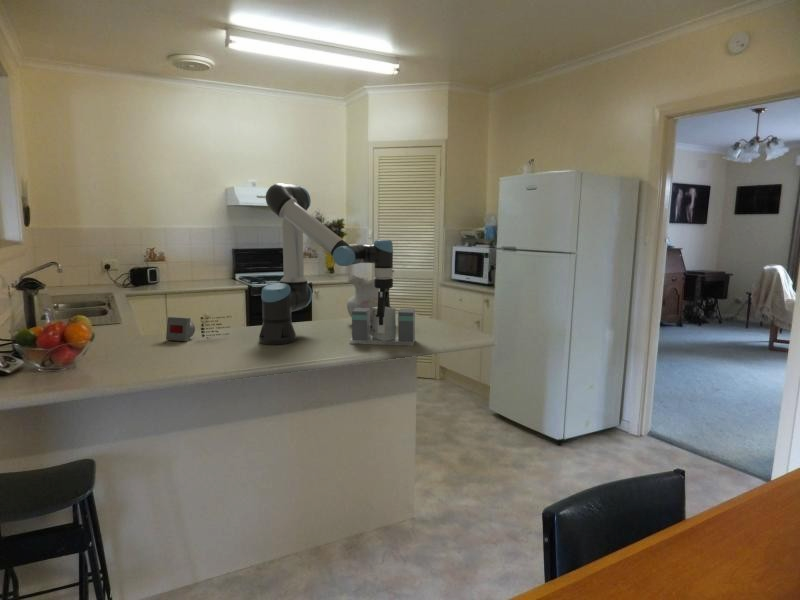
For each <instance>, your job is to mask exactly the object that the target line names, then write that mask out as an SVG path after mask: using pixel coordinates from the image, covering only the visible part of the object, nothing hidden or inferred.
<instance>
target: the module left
mask: <svg viewBox="0 0 800 600" xmlns="http://www.w3.org/2000/svg"><path fill="white" fill-rule="evenodd" d="M351 334H352V336H351V338H352V340H367V339H368V338H369V337H370V336H371V326H370V308H355V309H354V310H353V311H352V317H351Z"/></svg>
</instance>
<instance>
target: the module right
mask: <svg viewBox="0 0 800 600" xmlns="http://www.w3.org/2000/svg"><path fill="white" fill-rule="evenodd" d="M397 314H398V316H397V325H398V327H397V331H398V332H397V333H398V334H397V336H398V341H403V342H413V341H414V338H415V339H416V331H415V330H416V309H415V308H400V309H399V310H398V312H397ZM414 342H415V341H414Z"/></svg>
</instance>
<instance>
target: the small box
mask: <svg viewBox="0 0 800 600" xmlns="http://www.w3.org/2000/svg"><path fill="white" fill-rule="evenodd" d="M376 315H377V307H372V326H371V327H372V328H371V331H372V332H371V333H372V335H371V336H372V338H375V339H378V340H382V341H388V340H393V339H396V334H397V332H396V328H397V327H396V308H395V307H391V306H390V307H386V306H385V312H384V317H385V333H378V317H376Z"/></svg>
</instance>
